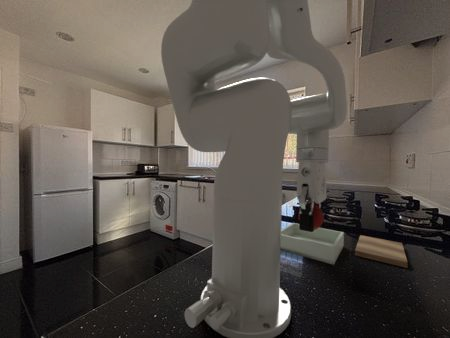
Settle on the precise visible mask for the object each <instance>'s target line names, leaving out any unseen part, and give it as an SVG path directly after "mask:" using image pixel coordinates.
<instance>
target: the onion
mask: <svg viewBox="0 0 450 338" xmlns="http://www.w3.org/2000/svg"><path fill="white" fill-rule="evenodd" d="M307 201H311V200H307ZM307 205H308V204H307ZM308 206H309V209H310V205H308ZM297 215H298V221H300V213H299V212H298V214H297ZM312 215H314V230H316V229H317V228H321V226H322V224H323V223H324V219H325V218H324V213H323V211H322V209H320V208H319V207H318V206H317V205H315V204H314V206H313V214H312Z"/></svg>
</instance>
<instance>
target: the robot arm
mask: <svg viewBox="0 0 450 338" xmlns="http://www.w3.org/2000/svg"><path fill="white" fill-rule="evenodd" d="M310 15H311V14H310V8H309V0H191V3H190V5H189V7H188V8H187V9H186V10H185V11H183V12H182V13H181V14H179V15H178V16H177V17H175V18H174V19H173V20H172V21H171V22H170V23H169V25H168V26H167V27H166V29H165V30H164V33H163V36H162V41H161V45H160V46H161V53H160V55H161V62H162V67H163V72H164V76H165V80H166V83H167V87H168V88H167V89H168V92H169V96H170V99H171V104H172V106H173V107H172V108H173V111H174V115H175V119H176V121H177V126H178V128H179V131H180V133H181V135H182V137H183V139H184V141H185V143H186V144H188V146H190V147H191V148H192V149H193V150H195V151H197V152H200V153H224V154H223V156H222V158H221V160H220V162H219V164H218V166H217V169H216V172H215V175H214V179H213V181H214V183H213V212H212V213H213V214H212V215H213V217H212V250H211V251H212V252H211V253H212V260H211V278H210V279H208V280H207V281H206V282H207V283H206V286H205V287H204V288H203V290H202V292H201V295H200V300H197V301H196V302H194V303H193V304H191V305H190V306H189V307H188V308H186V309H185V311H184V319H185V322H186V325H187V326H189V327H190V328H193V329H194V328H195V327H196V326H198V325H199V324H200V323H201V322H203V321H204V322H205V323H206V324H207V325H208V326H209V327H210V329H211V328H212V330H214V331H215V332H217V333H218V334H220V335H222V336H223V337H226V338H276V337H277V336H278V335H280V334H282V333H283V332H284V331H285V330H286V329H287V327H288V326H289V325H290V321H291V318H292V317H291V316H292V306H291V304H292V303H291V300H290V299H289V296H288V295H287V294H286V292H285V291H284V290H283V289H282V288H281V287H280V286H281V285H280V283H281V282H280V280H281V279H280V278H281V277H280V276H281V250H280V246H281V230H282V204H283V203H282V201H283V198H282V197H283V194H282V192H283V191H282V190H283V174H284V173H283V172H284V171H283V170H284V159H285V152H286V151H285V150H286V146H287V141H288V137H289V136H288V135H296V148H295V149H296V150H295V151H296V152H295V153H296V155H295V158H296V160H295V163H298V169H297V181H296V200H298V204H299V212H298V214H299V213H300V221H299V220H298V221H299V223H298V224H299V229H300V230H304V231H309V232H313V231H314V215H312V214H313V206H314V204H315V205H317V206H318V207H319V208H320V209H321V208H322V205H321V203H322V202H323V201H325V200H326V199H327V195H328V194H327V171H326V170H327V169H326V163H329V151H330V150H329V147H330V146H329V144H330V131H331V130H335V129H338V128H339V127H341V126H342V125H343V124H344V123H345V121H346V119H347V114H348V102H347V101H348V100H347V89H346V88H347V87H346V80H345V74H344V70H343V68H342V65H341V63H340V61H339V60H338V58H337V57H336V56H335V54H334V53H333V52H332V51H331V50H330V49H329V48H328V47H326V45H324V44H322V43H320V42H319V41H318V40H317V39H316V38H315V36H314V35H313V31H312V23H311V22H312V21H311V16H310ZM266 54H267V55H268V57H269V58H271V59H275V60H287V61H294V62H299V63H303V64H306V65H309V66H311V67H312V68H314V69H316V71H317V72H319V73H320V75H321V76H322V78H323V80H324V82H325V85H326V90H327V92H323V93H318V94H314V95H313V94H312V95H309V96H305V97H301V98H295V99H291V97H290V94H289V92H288V90H287V89H286V87H285V86H284V85H283V84H282V83H280V82H279V81H278V80H276V79H272V78H268V77H254V78H249V79H245V80H241V81H239V82H234V83H232V84H229V85H226V86H222V87H219V88H218V89H217V88H216V82H217V81H219V80H222V79H224V78H227V77H230V76H233V75H235V74H237V73H240V72H241V73H242V71H246V70H248V69H249V68H251V67H253V66H256V65H257V64H258V63H260V62H261V61H262V60H263V59H264V58H265V57H266ZM308 200H311V201H308ZM307 204H308V205H310V209H309V206H308V205H307ZM321 210H322V209H321Z"/></svg>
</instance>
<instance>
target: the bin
mask: <svg viewBox="0 0 450 338" xmlns="http://www.w3.org/2000/svg"><path fill="white" fill-rule="evenodd" d="M344 239H345V232H344V231H338V230H333V229H329V228H328V229H327V228H323V227H319V228H317V229H316V230H314V231H313V232H309V231H304V230H300V229H299V223H295V222H292V223H290V224H289V225H287V226H286V227H284V228H281V246H280V249H282V250H281V251H283V250H284V252H287V253H290V254H295V255H298V256H302V257H306V258H307V259H308V258H309V259H311V260H312V259H313V260H315V261H319V262H321V263H322V262H323V263H326V264H329V265H332V266H334V265H335V264H336V262H337V260H338V258H339V256H340V254H341V252H342V250H343V248H344V246H345V245H344V243H345V241H344Z"/></svg>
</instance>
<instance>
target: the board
mask: <svg viewBox="0 0 450 338" xmlns="http://www.w3.org/2000/svg"><path fill="white" fill-rule="evenodd" d="M354 256H356V257H361V258H366V259H369V260H373V261H377V262H381V263H386V264H388V265H393V266H397V267H402V268H406V269H408V259H407V256H406V252H405V248H404V245H403V243H402V242H398V241H393V240H387V239H383V238H377V237H372V236H366V235H362V234H360V235H359V237H358V241H357V243H356V246H355V249H354Z"/></svg>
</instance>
